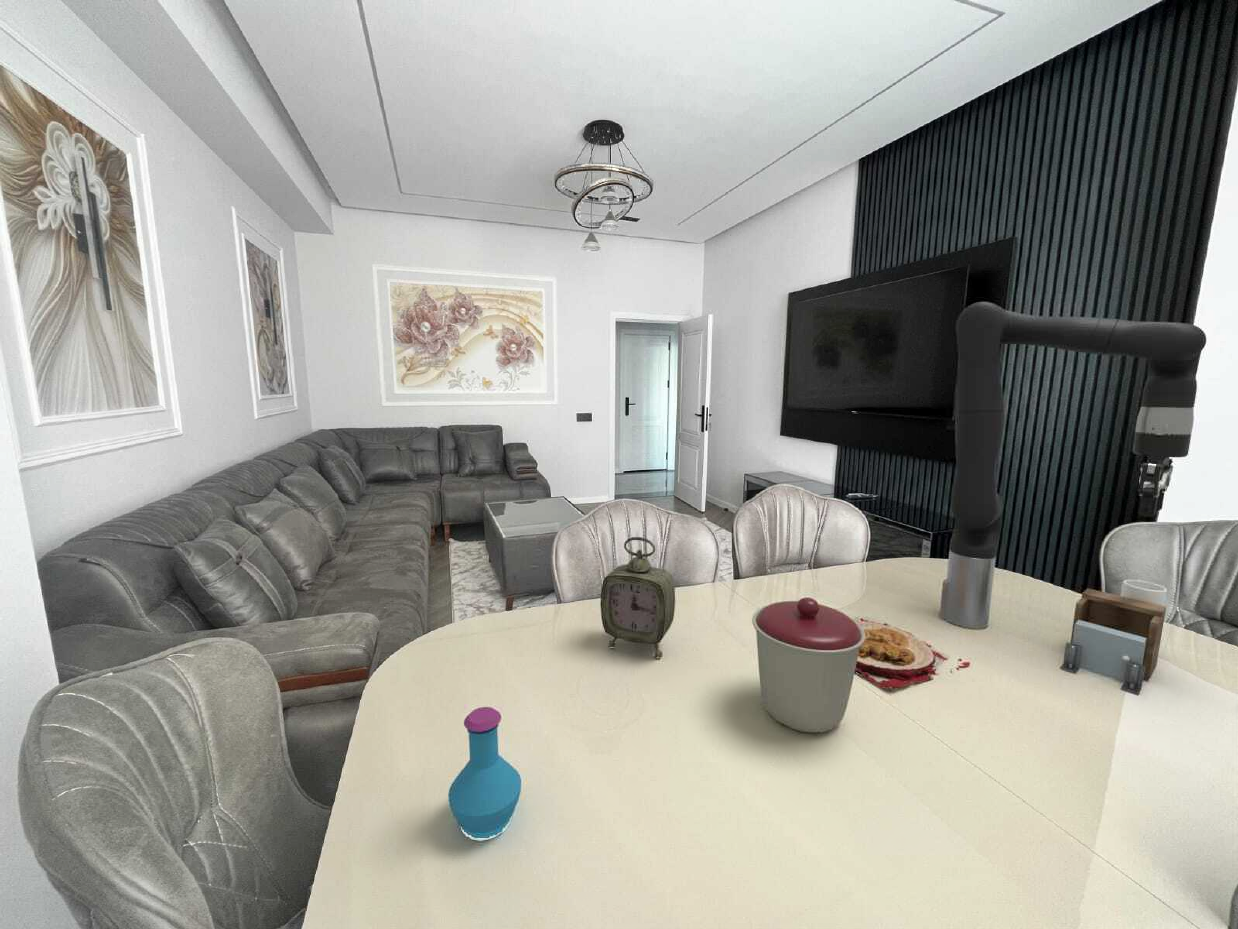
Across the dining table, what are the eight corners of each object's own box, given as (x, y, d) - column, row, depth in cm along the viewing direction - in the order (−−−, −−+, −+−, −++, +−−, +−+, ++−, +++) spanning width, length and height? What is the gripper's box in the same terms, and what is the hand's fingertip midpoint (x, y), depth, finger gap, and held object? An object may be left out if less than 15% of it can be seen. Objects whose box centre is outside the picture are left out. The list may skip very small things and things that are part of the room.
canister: (853, 694, 96) (861, 586, 93) (864, 760, 79) (875, 630, 76) (752, 676, 102) (757, 574, 99) (743, 734, 85) (748, 613, 82)
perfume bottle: (458, 794, 72) (453, 695, 70) (525, 790, 73) (522, 692, 71) (441, 853, 63) (435, 741, 61) (518, 847, 64) (515, 737, 62)
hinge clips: (1060, 669, 105) (1063, 645, 104) (1063, 664, 107) (1067, 641, 106) (1138, 695, 96) (1142, 670, 95) (1141, 690, 98) (1145, 665, 97)
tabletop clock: (600, 650, 112) (600, 538, 108) (616, 632, 120) (616, 528, 116) (664, 664, 106) (666, 546, 103) (676, 644, 115) (678, 535, 111)
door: (1067, 666, 106) (1073, 625, 105) (1072, 660, 108) (1078, 619, 107) (1135, 688, 98) (1143, 644, 97) (1139, 681, 101) (1146, 638, 99)
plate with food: (889, 699, 96) (891, 681, 95) (787, 634, 120) (789, 619, 119) (971, 671, 106) (973, 655, 106) (863, 616, 130) (864, 603, 129)
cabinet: (1068, 656, 110) (1076, 598, 108) (1079, 643, 115) (1087, 588, 113) (1148, 681, 100) (1158, 618, 98) (1156, 666, 106) (1166, 606, 104)
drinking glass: (1165, 660, 108) (1177, 592, 106) (1127, 657, 110) (1138, 589, 107) (1140, 645, 115) (1151, 580, 113) (1105, 641, 116) (1114, 578, 114)
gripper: (1142, 428, 107) (1130, 504, 109) (1128, 431, 98) (1116, 514, 101) (1196, 430, 101) (1182, 511, 103) (1186, 434, 92) (1171, 522, 95)
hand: (1149, 512), depth 102 cm, fingers open, 8 cm apart
